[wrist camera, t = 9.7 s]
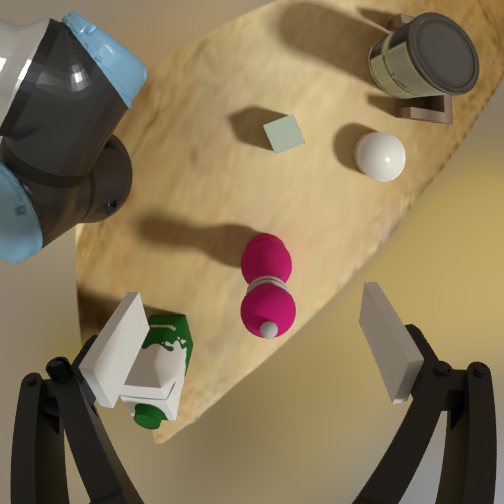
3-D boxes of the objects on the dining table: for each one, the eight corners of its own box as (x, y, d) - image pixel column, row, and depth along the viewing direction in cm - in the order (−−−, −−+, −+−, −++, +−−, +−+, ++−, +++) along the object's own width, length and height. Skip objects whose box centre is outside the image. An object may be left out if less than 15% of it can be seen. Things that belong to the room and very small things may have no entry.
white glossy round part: (353, 177, 42) (360, 181, 38) (353, 130, 39) (360, 131, 36) (394, 178, 41) (404, 182, 38) (395, 133, 39) (405, 134, 35)
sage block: (273, 151, 40) (275, 154, 36) (262, 125, 39) (263, 125, 34) (299, 141, 40) (305, 143, 35) (289, 115, 38) (293, 113, 34)
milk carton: (157, 347, 55) (126, 427, 37) (144, 310, 52) (102, 390, 34) (198, 348, 55) (178, 433, 37) (189, 309, 51) (160, 396, 33)
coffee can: (366, 31, 32) (406, 0, 19) (424, 47, 32) (476, 30, 19) (366, 92, 36) (410, 81, 23) (425, 106, 36) (480, 105, 23)
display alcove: (395, 117, 37) (411, 117, 32) (387, 22, 31) (401, 12, 26) (435, 122, 37) (453, 124, 32) (427, 32, 31) (444, 24, 26)
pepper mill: (235, 262, 47) (220, 348, 29) (254, 223, 45) (250, 293, 26) (276, 279, 49) (284, 369, 30) (297, 242, 46) (319, 320, 27)
